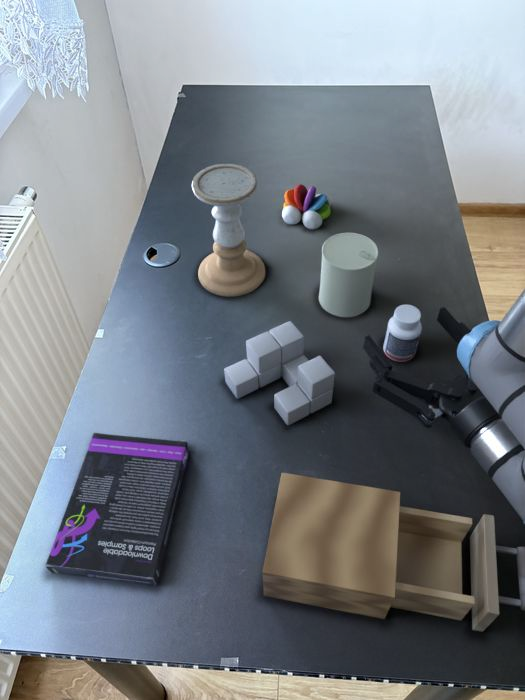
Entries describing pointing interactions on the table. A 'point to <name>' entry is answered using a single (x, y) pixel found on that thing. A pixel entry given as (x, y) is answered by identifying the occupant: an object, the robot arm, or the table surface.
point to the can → (347, 274)
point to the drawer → (450, 567)
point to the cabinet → (333, 545)
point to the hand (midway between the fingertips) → (403, 327)
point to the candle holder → (228, 231)
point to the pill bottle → (403, 333)
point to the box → (121, 510)
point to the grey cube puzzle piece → (283, 373)
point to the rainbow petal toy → (305, 206)
